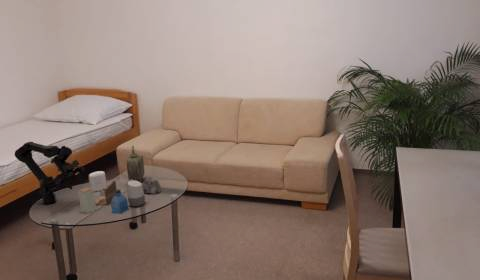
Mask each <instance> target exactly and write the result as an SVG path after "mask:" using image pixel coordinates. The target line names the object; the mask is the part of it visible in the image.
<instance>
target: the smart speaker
mask: <svg viewBox="0 0 480 280" xmlns="http://www.w3.org/2000/svg"><path fill="white" fill-rule="evenodd" d="M127 202H128V205H129V206H131V207H133V208H134V207H135V208H136V207H141V206H142V205H144V204H145V202H146V197H145V192H143V188H142V182H139V181H138V180H133V179H132V180H129V181H128V182H127Z"/></svg>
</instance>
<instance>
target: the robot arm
mask: <svg viewBox="0 0 480 280" xmlns="http://www.w3.org/2000/svg"><path fill="white" fill-rule="evenodd" d="M32 152H37V153H40V154H42V155H43V157H46V158H48V159H49V158H51V159H50V164H54V165H55V166H56V168H57V172H60V173H59V174H57V175H56V176H55V177H53V176H52V175H50V176H48V175H47V174H46V173H45V172H44V171H43V170H42V168H41V167H40V166H39V165H38V163H37V162H36V161H35V160H34V158H33V153H32ZM72 154H73V150H72V148H70V147H68V146H66V145H61V147H59V146H58V145H45V144H40V143H36V142H33V141H28V142H24V144H23V145H22V146H19V148H17V149H16V150H14V156H15V158H16V159H17V160H18V161H19V162H20V163H21V162H22V163H24V164H25V165H26V166H27V167H28V169H29V170H30V171H31V173H32V174H33V176H35V178H36V179H37V181H39V182H38V183H39V187H40V189H39V190H38V194H39V196H41V197H42V205H43V204H45V205H50V204H49V203H54V204H55V203H56V201H57V195H56V193H55V192H56V191H57V187H58V185H61V186H64V187H66V188H67V189H70V190H73V186H72V185H71V183H70V182H69V180H68V178H67V177H71V176H73V175H74V176H75V178H76V179H77V180H78V181H79V182H80V183H81V184H82V185H84V184H85V179H84V176H83V173H84V171H85V167H84V166H83V165H80V163H79V160H77V159H75V160H72V163H70V162H67V160H68V159H69V158H70V157H71V155H72ZM79 165H80V166H79Z"/></svg>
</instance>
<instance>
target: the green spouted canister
mask: <svg viewBox="0 0 480 280" xmlns="http://www.w3.org/2000/svg"><path fill="white" fill-rule="evenodd" d="M131 152H132V153H131ZM131 152H130V154H129V155H128V156H127V158H126V163H125V164H126V173H127V178H128V180H129V181H132V180H134V181H136V180H142V178H143V177H144V176H145V163H144V157H143V156H142V155H140V154H138V153H136V152H135V146H134V145H132V146H131Z"/></svg>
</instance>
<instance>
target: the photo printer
mask: <svg viewBox="0 0 480 280" xmlns="http://www.w3.org/2000/svg"><path fill="white" fill-rule="evenodd" d="M105 173H106V172H105V171H102V170H100V171H99V170H98V171H94V172H91V173H89V174H88V181H89V188H92V189H93V193H95V192H99V191H103V189H105V188H106V187H107V186H108V185H107V180H106V179H107V178H106V174H105Z"/></svg>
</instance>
